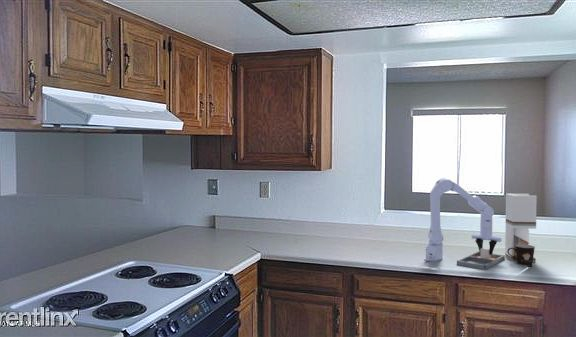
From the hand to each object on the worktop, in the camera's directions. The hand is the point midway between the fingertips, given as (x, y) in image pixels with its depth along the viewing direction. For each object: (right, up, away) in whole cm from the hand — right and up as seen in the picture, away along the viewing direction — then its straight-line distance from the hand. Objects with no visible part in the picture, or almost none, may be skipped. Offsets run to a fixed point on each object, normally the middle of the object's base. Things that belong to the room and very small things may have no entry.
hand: (486, 253), depth 229 cm
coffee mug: (+14, -5, -8) cm, 17 cm away
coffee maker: (+20, -4, +4) cm, 21 cm away
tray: (-5, -4, -5) cm, 8 cm away
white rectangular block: (0, -3, 0) cm, 3 cm away
